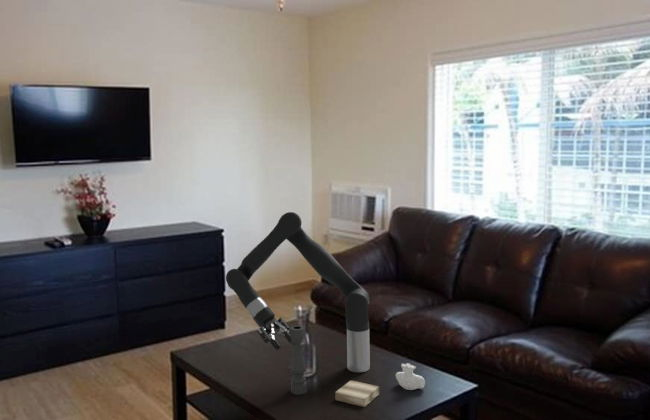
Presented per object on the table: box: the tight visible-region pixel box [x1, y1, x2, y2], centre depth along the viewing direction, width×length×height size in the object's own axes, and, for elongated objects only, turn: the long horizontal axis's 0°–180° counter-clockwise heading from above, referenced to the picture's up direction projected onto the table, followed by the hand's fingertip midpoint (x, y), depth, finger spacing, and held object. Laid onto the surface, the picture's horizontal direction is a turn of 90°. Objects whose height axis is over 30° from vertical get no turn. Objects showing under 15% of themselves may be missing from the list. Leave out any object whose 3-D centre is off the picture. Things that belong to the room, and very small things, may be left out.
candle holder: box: [289, 324, 308, 395], centre depth 225 cm, size 6×6×25 cm
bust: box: [395, 362, 426, 391], centre depth 226 cm, size 12×8×11 cm
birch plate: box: [334, 380, 380, 408], centre depth 220 cm, size 12×12×3 cm
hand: (285, 345), depth 226 cm, fingers open, 8 cm apart
